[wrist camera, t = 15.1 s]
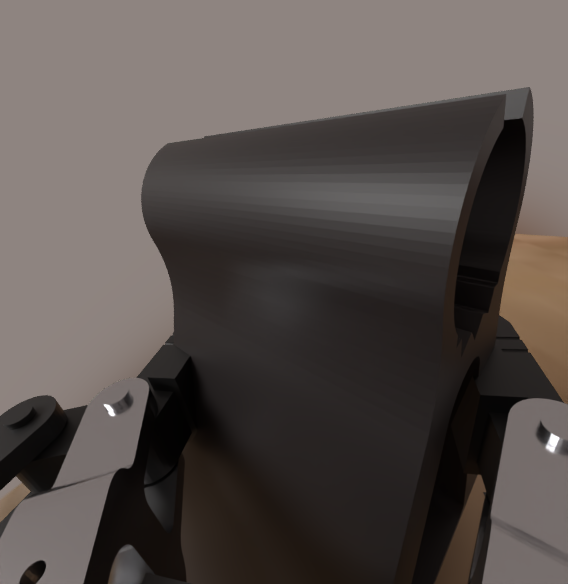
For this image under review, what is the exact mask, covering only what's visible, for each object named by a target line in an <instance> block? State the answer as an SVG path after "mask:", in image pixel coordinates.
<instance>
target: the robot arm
mask: <svg viewBox="0 0 568 584" xmlns="http://www.w3.org/2000/svg"><path fill="white" fill-rule="evenodd" d="M165 343H166V344H165V345H163V346H162V347H161V348H160V350H159V351H158V352H157V353H156V355H155V356H154V357H153V358H152V360H151V361H150V362H149V363H148V364H147V366H146V367H145V368H144V369H143V371H142V372H141V373H140V374H139V375H138V376H137V378H128V379H124V380H120V381H118V382H116V383H113V384H111V385H110V386H108V387H106V388H105V389H103V390H102V391H101V392H99V393H98V394H97V395H96V396H95V397H94V398H93V399H92V400H91V402H90V403H89V404H88V405H86V406H82V407H77V408H72V409H67V410H63V409H62V408H61V407H60V405H59V404H58V402H57V401H56V400H55V398H54V397H51V396H47V395H46V396H37V397H34V398H31V399H28V400H26V401H23V402H21V403H19V404H17V405H16V406H14V407H12V408H11V409H9V410H8V411H6V412H5V413H4V414H2V415H1V416H0V490H1V489H2V488H3V487H5V485H7V484H8V483H9V482H10V481H11V480H12V479H13V478H14V477H15V476H17V477H18V479H19V480H20V481H21V482H22V483H23V484H24V485H25V486H26V487H27V488H28V489H29V490H30V491H31V492H30V493H29V494H28V495H27V496H26V497H25V498H24V499H23V500H22V501H21V502H20V503H19V504H18V505H17V506H16V507H15V508H14V509H13V510H12V511H11V512H10V513H9V514H8V515H7V516H6V517H5V518H4V520H3V521H2V522H1V523H0V584H191V583H187V579H186V568H185V562H184V557H183V553H182V548H181V522H182V505H183V487H184V470H185V459H184V456H183V454H182V451H183V449H184V447H185V445H186V443H187V442H188V443H191V441H192V440H193V438H194V436H195V434H196V433H197V421H196V410H195V400H194V389H193V379H192V369H191V358H190V355H188V354H187V353H185V352H184V351H183V350H181V349H180V348H178V347H177V346H175V345H174V333H173V336H170V338H169V339H168V340H167V341H166V342H165ZM451 428H452V432H453V436H454V439H455V443H456V447H457V450H458V454H459V458H460V461H461V465H462V469H463V472H464V473H466V474H475V475H481V476H482V480H483V483H484V486H485V489H486V496H485V499H484V503H483V508H482V513H481V518H480V523H479V528H478V533H477V538H476V543H475V548H474V553H473V558H472V562H471V567H470V572H469V577H468V582H467V584H568V404H565V403H564V402H563V401H562V399H561V398H560V396H559V395H558V393H557V392H556V390H555V389H554V387H553V386H552V384H551V383H550V381H549V380H548V378H547V377H546V375H545V374H544V372H543V371H542V370H541V368H540V367H539V365H538V364H537V362H536V361H535V359H534V358H533V356H532V355H531V353H528V349H527V347H526V346H525V344H524V343H523V341H522V340H520V337H519V335H518V334H517V332H516V331H515V329H514V328H513V326H512V325H511V323H510V322H508V321H507V320H505V319H504V318H503V317H501V316H500V315H499V318H498V326H497V334H496V342H495V346H494V348H493V350H492V352H491V354H490V356H489V358H488V360H487V362H486V364H485V365H484V367H483V369H482V371H481V373H480V375H479V377H475V376H472V378H471V380H470V382H469V385H468V387H467V389H466V392H465V394H464V396H463V398H462V401H461V403H460V405H459V407H458V410H457V412H456V414H455V417H454V419H453V421H452V423H451Z"/></svg>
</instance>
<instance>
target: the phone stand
mask: <svg viewBox="0 0 568 584" xmlns="http://www.w3.org/2000/svg"><path fill="white" fill-rule="evenodd" d="M532 136H533V99H532V93H531V90H530V87H528V88H521V89H515V90H508V91H501V92H494V93H488V94H481V95H475V96H468V97H462V98H455V99H449V100H442V101H435V102H430V103H422V104H416V105H409V106H402V107H397V108H390V109H383V110H376V111H370V112H363V113H356V114H350V115H344V116H337V117H330V118H324V119H317V120H311V121H304V122H297V123H291V124H284V125H278V126H271V127H264V128H258V129H251V130H245V131H238V132H232V133H226V134H219V135H213V136H205V137H204V138H202V139H196V140H188V141H181V142H174V143H168V144H167V145H165V146H164V147H163V148H162V149H161V150H159V151H158V153H157V154H156V155H155V156H154V158H153V159H152V161H151V163H150V165H149V166H148V169H147V171H146V174H145V177H144V180H143V185H142V194H141V200H142V201H141V202H142V212H143V217H144V221H145V224H146V227H147V229H148V232H149V234H150V236H151V238H152V239H153V241H154V243H155V244H156V246H157V248H158V250H159V252H160V254H161V256H162V258H163V260H164V262H165V265H166V268H167V270H168V274H169V277H170V280H171V285H172V291H173V299H174V345H175V346H177V347H178V348H180V349H181V350H183V351H184V352H185V353H187V354H188V355H190V358H191V369H192V379H193V389H194V400H195V410H196V421H197V433H196V434H195V436H194V438H193V440H192V441H191V443H188V442H187V443H186V445H185V447H184V449H183V451H182V454H183V456H184V459H185V470H184V487H183V505H182V522H181V548H182V553H183V557H184V562H185V568H186V579H187V583H191V584H435V581H436V579H437V576H438V574H439V571H440V569H441V566H442V564H443V561H444V559H445V556H446V554H447V551H448V549H449V546H450V543H451V541H452V538H453V536H454V533H455V531H456V528H457V526H458V523H459V521H460V518H461V516H462V513H463V511H464V508H465V506H466V503H467V500H468V498H469V495H470V493H471V490H472V488H473V485H474V483H475V480H476V478H477V475H475V474H466V473H464V472H463V469H462V465H461V461H460V458H459V454H458V450H457V447H456V443H455V439H454V436H453V432H452V428H451V423H452V421H453V419H454V417H455V414H456V412H457V410H458V407H459V405H460V403H461V401H462V398H463V396H464V394H465V392H466V389H467V387H468V385H469V382H470V380H471V378H472V376H475V377H479V375H480V373H481V371H482V369H483V367H484V365H485V364H486V362H487V360H488V358H489V356H490V354H491V352H492V350H493V348H494V346H495V342H496V334H497V326H498V318H499V310H500V304H501V297H502V292H503V286H504V281H505V276H506V271H507V266H508V261H509V257H510V252H511V248H512V244H513V239H514V235H515V231H516V227H517V223H518V218H519V214H520V210H521V206H522V201H523V196H524V191H525V186H526V180H527V174H528V168H529V162H530V155H531V146H532Z"/></svg>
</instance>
